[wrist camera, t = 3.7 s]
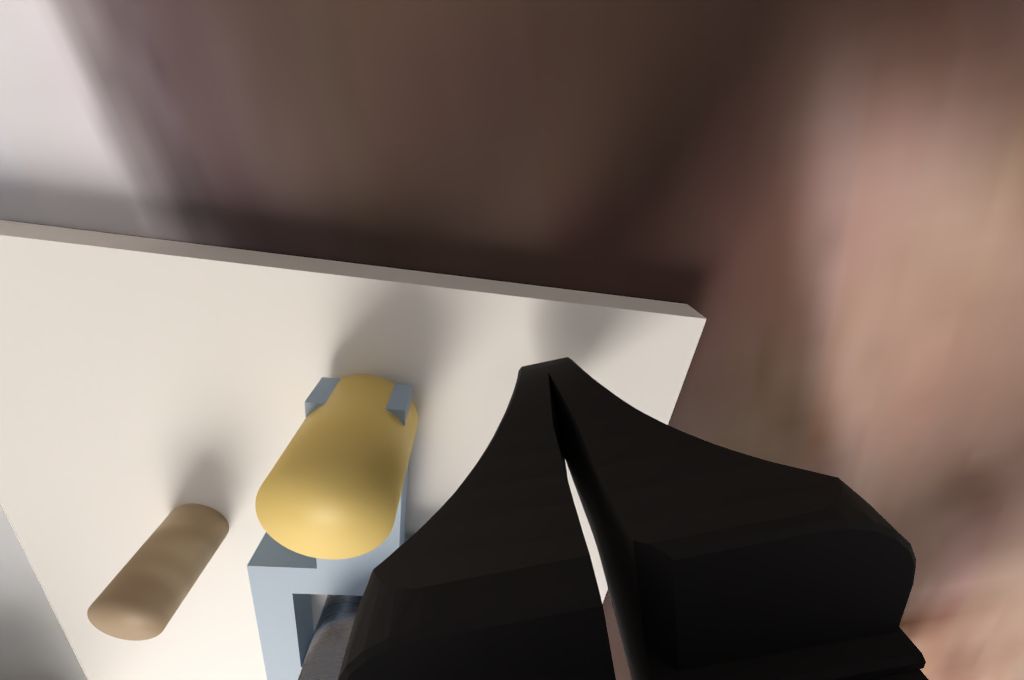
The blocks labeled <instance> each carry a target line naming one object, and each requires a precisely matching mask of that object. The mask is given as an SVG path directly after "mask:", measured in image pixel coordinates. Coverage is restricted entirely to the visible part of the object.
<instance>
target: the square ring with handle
mask: <svg viewBox="0 0 1024 680" xmlns="http://www.w3.org/2000/svg"><path fill="white" fill-rule="evenodd" d="M412 393H413V385H404V384H395V383H393V382H391V381H389V380H387V379H384V378H381V377H377V376H372V375H352V376H347V377H344V378H341V379H338V378H327V377H322V378H321V379H320V381H319V382H318V384H317V385H316V386H315V388H314V389H313V391H312V392H311V393H310V395H309V396H308V398H307V399H306V401H305V402H304V403H305V416H306V419H305V420H304V422H303V423H302V425H301V426H300V428H299V429H298V431H297V432H296V434H295V435H294V437H293V438H292V440H291V441H290V443H289V444H288V446H287V447H286V449H285V450H284V452H283V453H282V455H281V456H280V458H279V459H278V461H277V462H276V464H275V465H274V467H273V468H272V470H271V471H270V473H269V474H268V476H267V477H266V479H265V480H264V482H263V483H262V485H261V487H260V488H259V490H258V493H257V496H256V501H255V509H256V514H257V517H258V520H259V522H260V524H261V525H262V527H263V528H264V530H265V531H266V533H265V535H264V536H263V538H262V540H261V542H260V543H259V545H258V547H257V549H256V551H255V552H254V554H253V556H252V558H251V559H250V561H249V563H248V565H247V570H248V575H249V581H250V587H251V592H252V598H253V603H254V609H255V614H256V620H257V626H258V631H259V637H260V642H261V648H262V654H263V659H264V665H265V670H266V676H267V680H298V678H299V675H300V672H301V669H302V667H303V664H304V661H305V658H306V655H307V652H308V649H309V647H310V644H311V641H312V638H313V635H314V632H315V631H314V628H313V617H312V606H311V595H310V594H324V595H354V596H363V594H364V592H365V589H366V587H367V584H368V582H369V579H370V576H371V573H372V571H373V569H374V568H375V567H377V566H378V565H379V564H380V563H381V562H383V561H384V560H385V559H386V558H387V557H388V556H390V555H391V554H392V553H393V552H394V551H395V550H396V549H398V548H399V547H400V546H401V545H402V544H403V543H404V542H406V541H407V540H408V539H405V527H406V508H407V489H408V470H409V459H410V455H411V451H412V447H413V443H414V439H415V434H416V430H417V426H418V414H417V410H416V407H415V404H414V402H413V401H412Z"/></svg>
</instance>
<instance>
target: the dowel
mask: <svg viewBox="0 0 1024 680" xmlns="http://www.w3.org/2000/svg"><path fill="white" fill-rule="evenodd" d="M228 532H229V524H228V522H227V520H226V518H225V517H224V516H223V515H222V514H221V513H220V512H218V511H217V510H215V509H213V508H211V507H208V506H205V505H201V504H184V505H180V506H178V507H176V508H175V509H173V510H172V511H171V513H170V514H169V515H168V516H167V517H166V518H165V520H164V521H163V522H162V523H161V524H160V525H159V526H158V528H157V529H156V530H155V531H154V532H153V533H152V535H151V536H150V537H149V538H148V539H147V540H146V542H145V543H144V544H143V545H142V546H141V547H140V549H139V550H138V551H137V552H136V553H135V554H134V556H133V557H132V558H131V559H130V560H129V561H128V562H127V564H126V565H125V566H124V567H123V568H122V569H121V571H120V572H119V573H118V574H117V575H116V576H115V578H114V579H113V580H112V581H111V582H110V583H109V585H108V586H107V587H106V588H105V589H104V590H103V591H102V593H101V594H100V595H99V596H98V597H97V598H96V600H95V601H94V602H93V603H92V604H91V605H90V607H89V608H88V611H87V616H88V619H89V621H90V622H91V624H92V625H93V626H94V627H96V628H97V629H98V630H100V631H101V632H103V633H105V634H107V635H110V636H112V637H115V638H119V639H124V640H133V641H140V640H148V639H151V638H154V637H156V636H158V635H159V634H161V633H162V632H163V630H164V629H165V627H166V626H167V624H168V623H169V621H170V620H171V618H172V617H173V615H174V614H175V612H176V611H177V609H178V608H179V606H180V605H181V603H182V602H183V600H184V599H185V597H186V596H187V594H188V593H189V591H190V590H191V588H192V587H193V585H194V584H195V582H196V581H197V579H198V578H199V576H200V575H201V573H202V572H203V570H204V569H205V567H206V566H207V564H208V563H209V561H210V560H211V558H212V557H213V555H214V554H215V552H216V551H217V549H218V548H219V546H220V545H221V543H222V542H223V540H224V539H225V537H226V536H227V534H228Z"/></svg>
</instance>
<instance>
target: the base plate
mask: <svg viewBox="0 0 1024 680" xmlns="http://www.w3.org/2000/svg"><path fill="white" fill-rule="evenodd" d="M705 322H706V318H705V317H703V316H702V315H701V314H700V313H698V312H697V311H696V310H694V309H693V308H692V307H690V306H689V305H688V304H683V303H675V302H667V301H659V300H650V299H642V298H634V297H626V296H618V295H610V294H601V293H593V292H585V291H577V290H569V289H561V288H552V287H544V286H536V285H528V284H520V283H512V282H504V281H495V280H487V279H479V278H471V277H463V276H455V275H446V274H438V273H430V272H422V271H414V270H406V269H398V268H389V267H381V266H373V265H365V264H357V263H349V262H340V261H332V260H324V259H316V258H308V257H300V256H291V255H283V254H275V253H267V252H259V251H251V250H243V249H234V248H226V247H218V246H210V245H202V244H194V243H185V242H177V241H169V240H161V239H153V238H145V237H136V236H128V235H120V234H112V233H104V232H96V231H88V230H79V229H71V228H63V227H55V226H47V225H39V224H30V223H22V222H14V221H6V220H0V505H1V507H2V509H3V511H4V513H5V515H6V517H7V519H8V521H9V523H10V525H11V527H12V529H13V531H14V533H15V535H16V537H17V539H18V541H19V543H20V545H21V547H22V549H23V551H24V553H25V555H26V557H27V559H28V561H29V563H30V565H31V567H32V569H33V571H34V573H35V575H36V577H37V579H38V581H39V583H40V585H41V587H42V589H43V591H44V593H45V595H46V597H47V599H48V601H49V603H50V605H51V607H52V609H53V611H54V613H55V615H56V617H57V619H58V621H59V623H60V625H61V627H62V629H63V631H64V633H65V635H66V637H67V639H68V641H69V643H70V645H71V647H72V649H73V651H74V653H75V655H76V657H77V659H78V661H79V663H80V665H81V667H82V669H83V671H84V673H85V675H86V678H87V680H267V676H266V670H265V665H264V659H263V654H262V648H261V642H260V637H259V631H258V626H257V620H256V614H255V609H254V603H253V598H252V592H251V587H250V581H249V575H248V570H247V565H248V563H249V561H250V559H251V558H252V556H253V554H254V552H255V551H256V549H257V547H258V545H259V543H260V542H261V540H262V538H263V536H264V535H265V533H266V531H265V530H264V528H263V527H262V525H261V524H260V522H259V520H258V517H257V514H256V509H255V501H256V496H257V493H258V490H259V488H260V487H261V485H262V483H263V482H264V480H265V479H266V477H267V476H268V474H269V473H270V471H271V470H272V468H273V467H274V465H275V464H276V462H277V461H278V459H279V458H280V456H281V455H282V453H283V452H284V450H285V449H286V447H287V446H288V444H289V443H290V441H291V440H292V438H293V437H294V435H295V434H296V432H297V431H298V429H299V428H300V426H301V425H302V423H303V422H304V420H305V419H306V416H305V403H304V402H305V401H306V399H307V398H308V396H309V395H310V393H311V392H312V391H313V389H314V388H315V386H316V385H317V384H318V382H319V381H320V379H321V378H322V377H327V378H338V379H341V378H344V377H347V376H352V375H372V376H377V377H381V378H384V379H387V380H389V381H391V382H393V383H395V384H404V385H413V393H412V401H413V402H414V404H415V407H416V410H417V414H418V426H417V430H416V434H415V439H414V443H413V447H412V451H411V455H410V459H409V470H408V489H407V508H406V527H405V539H409V538H410V537H411V536H412V535H414V534H415V533H416V532H417V531H418V530H419V529H420V528H421V527H422V526H423V525H424V524H425V523H426V522H427V521H428V520H429V519H430V518H431V517H432V516H433V515H434V514H435V513H436V512H437V511H438V510H439V509H440V508H441V507H442V506H443V505H444V504H445V503H446V502H447V500H448V499H449V498H450V497H451V496H452V495H453V494H454V493H455V491H456V490H457V489H458V488H459V486H460V485H461V484H462V483H463V481H464V480H465V479H466V477H467V476H468V475H469V473H470V472H471V470H472V469H473V468H474V466H475V465H476V464H477V462H478V461H479V459H480V458H481V456H482V454H483V453H484V451H485V450H486V448H487V446H488V445H489V443H490V441H491V440H492V438H493V436H494V434H495V432H496V430H497V428H498V426H499V424H500V422H501V420H502V418H503V416H504V414H505V412H506V409H507V407H508V404H509V402H510V399H511V397H512V394H513V391H514V388H515V384H516V381H517V376H518V371H519V370H520V368H521V367H522V366H527V365H532V364H537V363H541V362H546V361H551V360H556V359H560V358H565V357H569V358H570V359H572V360H573V361H574V362H575V363H576V364H577V365H578V366H579V367H581V368H582V369H583V370H584V371H585V372H586V373H587V374H589V375H590V376H591V377H592V378H593V379H595V380H596V381H597V382H598V383H600V384H601V385H602V386H604V387H605V388H606V389H608V390H609V391H610V392H612V393H613V394H615V395H616V396H617V397H619V398H620V399H622V400H623V401H625V402H626V403H628V404H630V405H631V406H633V407H634V408H636V409H638V410H639V411H641V412H643V413H645V414H647V415H649V416H651V417H653V418H654V419H656V420H658V421H660V422H662V423H664V424H666V425H668V423H669V420H670V418H671V415H672V412H673V409H674V407H675V404H676V401H677V398H678V396H679V393H680V390H681V388H682V385H683V382H684V379H685V377H686V374H687V371H688V368H689V366H690V363H691V360H692V357H693V355H694V352H695V349H696V347H697V344H698V341H699V338H700V336H701V333H702V330H703V327H704V325H705ZM565 462H566V460H565ZM566 470H567V477H568V483H569V486H570V490H571V493H572V497H573V500H574V504H575V507H576V511H577V514H578V517H579V521H580V524H581V527H582V531H583V534H584V537H585V541H586V544H587V547H588V550H589V553H590V557H591V561H592V565H593V569H594V572H595V576H596V580H597V584H598V588H599V592H600V596H601V600H602V603H603V601H604V598H605V595H606V592H607V590H608V586H607V582H606V579H605V575H604V571H603V567H602V563H601V560H600V556H599V552H598V549H597V546H596V543H595V540H594V537H593V533H592V531H591V528H590V525H589V523H588V520H587V517H586V514H585V512H584V509H583V506H582V503H581V501H580V498H579V495H578V493H577V490H576V487H575V484H574V482H573V479H572V476H571V473H570V471H569V468H568V465H567V462H566ZM184 504H201V505H205V506H208V507H211V508H213V509H215V510H217V511H218V512H220V513H221V514H222V515H223V516H224V517H225V518H226V520H227V522H228V524H229V532H228V534H227V536H226V537H225V539H224V540H223V542H222V543H221V545H220V546H219V548H218V549H217V551H216V552H215V554H214V555H213V557H212V558H211V560H210V561H209V563H208V564H207V566H206V567H205V569H204V570H203V572H202V573H201V575H200V576H199V578H198V579H197V581H196V582H195V584H194V585H193V587H192V588H191V590H190V591H189V593H188V594H187V596H186V597H185V599H184V600H183V602H182V603H181V605H180V606H179V608H178V609H177V611H176V612H175V614H174V615H173V617H172V618H171V620H170V621H169V623H168V624H167V626H166V627H165V629H164V630H163V632H162V633H161V634H159V635H158V636H156V637H154V638H151V639H148V640H140V641H133V640H124V639H119V638H115V637H112V636H110V635H107V634H105V633H103V632H101V631H100V630H98V629H97V628H96V627H94V626H93V625H92V624H91V622H90V621H89V619H88V616H87V611H88V608H89V607H90V605H91V604H92V603H93V602H94V601H95V600H96V598H97V597H98V596H99V595H100V594H101V593H102V591H103V590H104V589H105V588H106V587H107V586H108V585H109V583H110V582H111V581H112V580H113V579H114V578H115V576H116V575H117V574H118V573H119V572H120V571H121V569H122V568H123V567H124V566H125V565H126V564H127V562H128V561H129V560H130V559H131V558H132V557H133V556H134V554H135V553H136V552H137V551H138V550H139V549H140V547H141V546H142V545H143V544H144V543H145V542H146V540H147V539H148V538H149V537H150V536H151V535H152V533H153V532H154V531H155V530H156V529H157V528H158V526H159V525H160V524H161V523H162V522H163V521H164V520H165V518H166V517H167V516H168V515H169V514H170V513H171V511H172V510H173V509H175V508H176V507H178V506H180V505H184ZM310 595H311V606H312V617H313V628H314V631H315V630H316V627H317V624H318V621H319V618H320V615H321V612H322V610H323V607H324V604H325V601H326V598H327V595H324V594H310Z"/></svg>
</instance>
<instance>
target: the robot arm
mask: <svg viewBox="0 0 1024 680" xmlns="http://www.w3.org/2000/svg"><path fill="white" fill-rule="evenodd" d="M565 460H566V462H567V465H568V468H569V471H570V473H571V476H572V479H573V482H574V484H575V487H576V490H577V493H578V495H579V498H580V501H581V503H582V506H583V509H584V512H585V514H586V517H587V520H588V523H589V525H590V528H591V531H592V533H593V537H594V540H595V543H596V546H597V549H598V552H599V556H600V560H601V563H602V567H603V571H604V575H605V579H606V582H607V586H608V590H609V594H610V597H611V601H612V605H613V609H614V613H615V617H616V620H617V624H618V628H619V632H620V636H621V639H622V643H623V647H624V651H625V655H626V659H627V663H628V667H629V670H630V674H631V678H632V680H928V679H927V677H926V676H925V675H924V674H923V673H922V671H921V670H920V669H921V668H924V666H925V663H926V662H925V659H924V657H923V655H922V653H921V652H920V651H919V649H918V648H917V647H916V646H915V645H914V644H913V642H912V641H911V640H910V639H909V638H908V637H907V636H906V634H905V633H904V632H903V631H902V630H901V629H900V627H899V624H900V621H901V618H902V615H903V612H904V609H905V606H906V604H907V601H908V598H909V595H910V592H911V589H912V586H913V581H914V574H915V566H916V559H915V556H914V553H913V550H912V547H911V544H910V543H909V542H908V541H907V540H906V539H905V538H904V537H903V536H902V535H901V534H899V533H898V532H897V531H896V530H895V529H894V528H893V527H892V526H891V525H890V524H889V523H888V522H887V521H886V520H885V519H884V518H883V517H882V516H881V515H880V514H879V513H878V512H877V511H876V510H875V509H874V508H873V507H872V506H871V505H869V504H868V503H867V502H866V501H865V500H864V499H863V498H862V497H860V496H859V495H858V494H857V493H856V492H854V491H853V490H852V489H851V488H850V487H849V486H847V485H846V484H845V483H844V482H842V481H841V480H840V479H839V478H837V477H833V476H829V475H824V474H820V473H816V472H812V471H807V470H803V469H799V468H794V467H790V466H786V465H782V464H777V463H773V462H769V461H766V460H762V459H759V458H756V457H752V456H749V455H746V454H742V453H739V452H736V451H733V450H730V449H727V448H724V447H721V446H718V445H715V444H712V443H709V442H707V441H704V440H702V439H699V438H697V437H694V436H692V435H689V434H687V433H684V432H682V431H680V430H677V429H675V428H673V427H671V426H668V425H666V424H664V423H662V422H660V421H658V420H656V419H654V418H653V417H651V416H649V415H647V414H645V413H643V412H641V411H639V410H638V409H636V408H634V407H633V406H631V405H630V404H628V403H626V402H625V401H623V400H622V399H620V398H619V397H617V396H616V395H615V394H613V393H612V392H610V391H609V390H608V389H606V388H605V387H604V386H602V385H601V384H600V383H598V382H597V381H596V380H595V379H593V378H592V377H591V376H590V375H589V374H587V373H586V372H585V371H584V370H583V369H582V368H581V367H579V366H578V365H577V364H576V363H575V362H574V361H573V360H572V359H570V358H569V357H565V358H560V359H556V360H551V361H546V362H541V363H537V364H532V365H527V366H522V367H521V368H520V370H519V371H518V376H517V381H516V384H515V388H514V391H513V394H512V397H511V399H510V402H509V404H508V407H507V409H506V412H505V414H504V416H503V418H502V420H501V422H500V424H499V426H498V428H497V430H496V432H495V434H494V436H493V438H492V440H491V441H490V443H489V445H488V446H487V448H486V450H485V451H484V453H483V454H482V456H481V458H480V459H479V461H478V462H477V464H476V465H475V466H474V468H473V469H472V470H471V472H470V473H469V475H468V476H467V477H466V479H465V480H464V481H463V483H462V484H461V485H460V486H459V488H458V489H457V490H456V491H455V493H454V494H453V495H452V496H451V497H450V498H449V499H448V500H447V502H446V503H445V504H444V505H443V506H442V507H441V508H440V509H439V510H438V511H437V512H436V513H435V514H434V515H433V516H432V517H431V518H430V519H429V520H428V521H427V522H426V523H425V524H424V525H423V526H422V527H421V528H420V529H419V530H418V531H417V532H416V533H415V534H414V535H412V536H411V537H410V538H409V539H408V540H407V541H406V542H404V543H403V544H402V545H401V546H400V547H399V548H398V549H396V550H395V551H394V552H393V553H392V554H391V555H390V556H388V557H387V558H386V559H385V560H384V561H383V562H381V563H380V564H379V565H378V566H377V567H375V568H374V569H373V571H372V573H371V576H370V579H369V582H368V584H367V587H366V589H365V592H364V594H363V596H362V599H361V602H360V604H359V607H358V610H357V613H356V616H355V619H354V622H353V626H352V630H351V633H350V637H349V640H348V644H347V648H346V651H345V655H344V659H343V662H342V666H341V669H340V673H339V677H338V680H616V678H615V673H614V667H613V661H612V656H611V650H610V644H609V638H608V633H607V627H606V621H605V616H604V610H603V605H602V600H601V596H600V592H599V588H598V584H597V580H596V576H595V572H594V569H593V565H592V561H591V557H590V553H589V550H588V547H587V544H586V541H585V537H584V534H583V531H582V527H581V524H580V521H579V517H578V514H577V511H576V507H575V504H574V500H573V497H572V493H571V490H570V486H569V483H568V477H567V470H566V462H565Z"/></svg>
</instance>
